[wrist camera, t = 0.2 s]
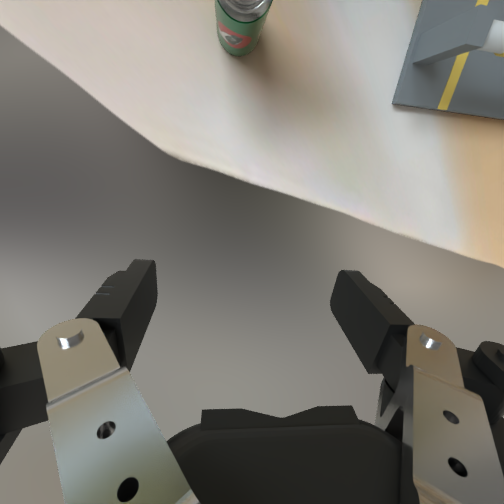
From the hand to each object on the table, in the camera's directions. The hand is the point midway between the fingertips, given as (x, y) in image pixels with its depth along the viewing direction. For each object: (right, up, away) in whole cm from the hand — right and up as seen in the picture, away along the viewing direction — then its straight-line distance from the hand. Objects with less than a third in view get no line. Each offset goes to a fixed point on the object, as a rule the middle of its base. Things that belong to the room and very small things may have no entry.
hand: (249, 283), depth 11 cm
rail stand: (+32, +27, +23) cm, 48 cm away
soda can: (-2, +28, +19) cm, 34 cm away
